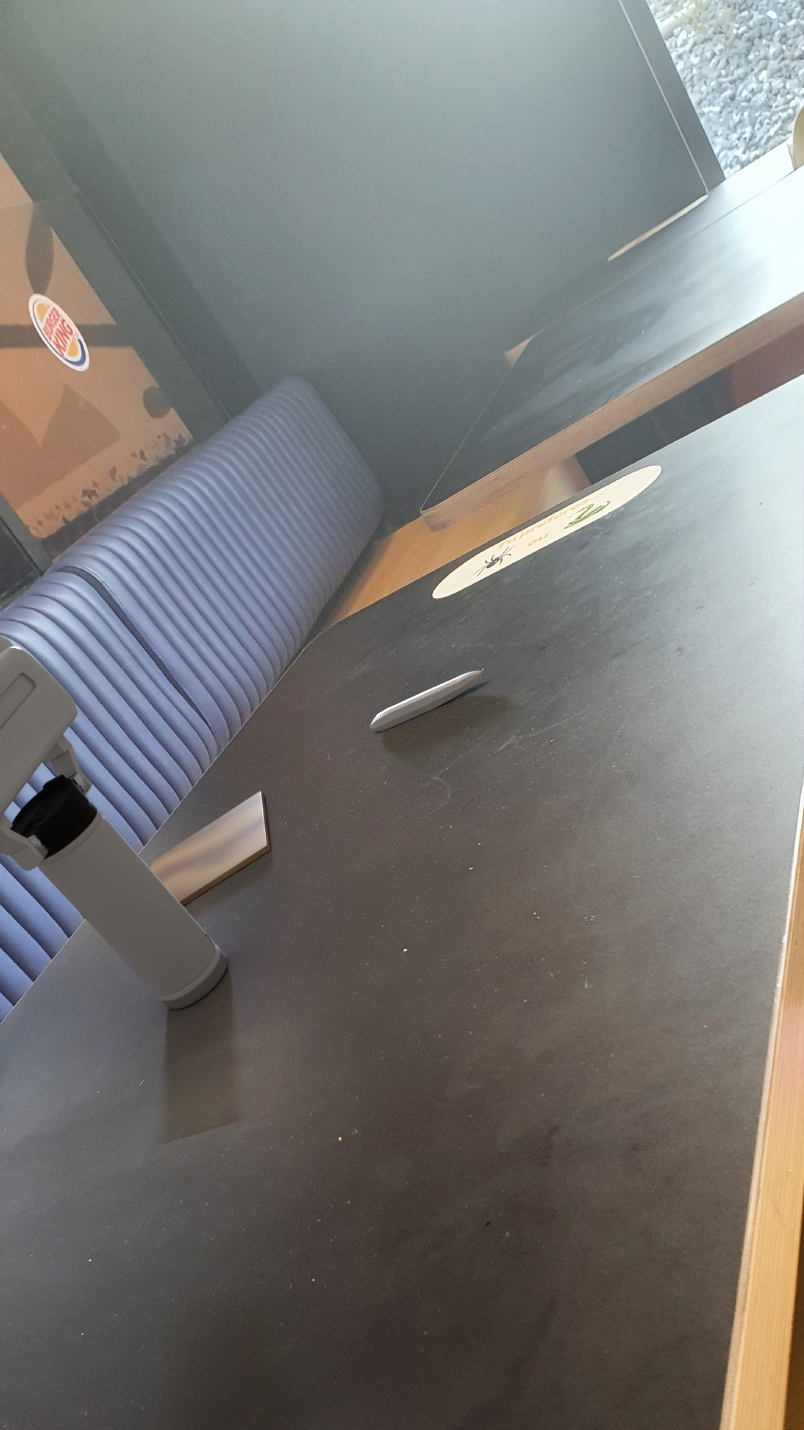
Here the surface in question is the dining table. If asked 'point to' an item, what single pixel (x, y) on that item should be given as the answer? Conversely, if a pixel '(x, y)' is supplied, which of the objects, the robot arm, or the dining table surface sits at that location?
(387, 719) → the pen
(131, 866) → the travel mug
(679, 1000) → the dining table surface
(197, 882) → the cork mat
